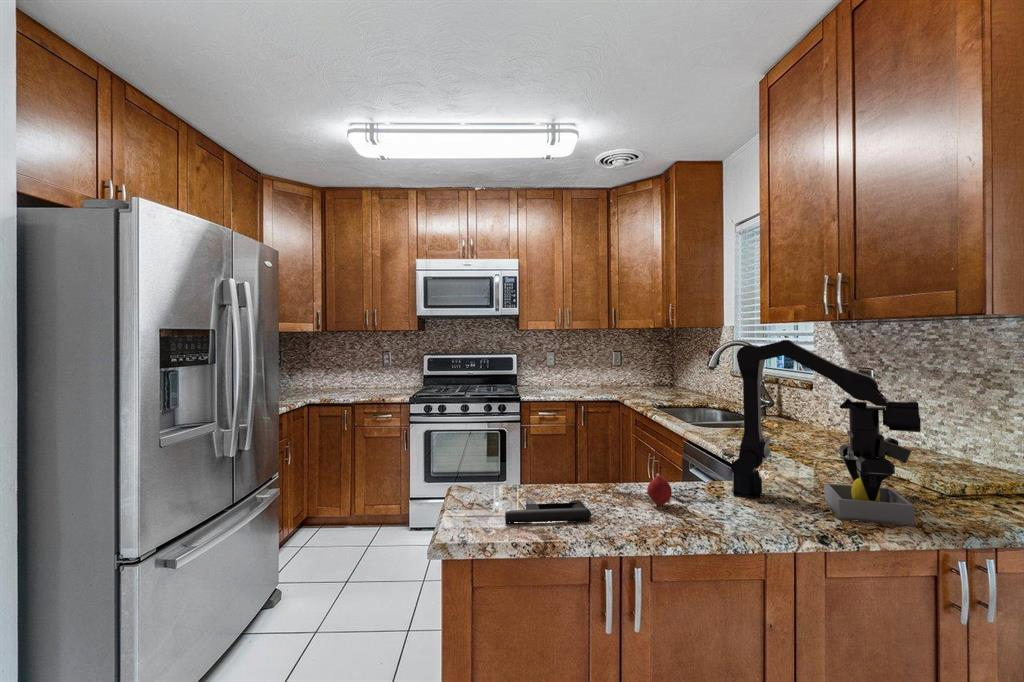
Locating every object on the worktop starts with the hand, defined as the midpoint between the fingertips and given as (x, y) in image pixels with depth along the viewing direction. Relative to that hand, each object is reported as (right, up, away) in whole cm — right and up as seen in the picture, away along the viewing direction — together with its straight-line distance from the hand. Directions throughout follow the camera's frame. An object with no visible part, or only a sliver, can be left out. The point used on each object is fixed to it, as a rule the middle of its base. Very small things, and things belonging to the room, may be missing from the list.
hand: (865, 494), depth 116 cm
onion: (-46, -5, +7) cm, 47 cm away
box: (0, -4, 0) cm, 4 cm away
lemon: (0, -4, 0) cm, 4 cm away
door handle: (-75, -6, +4) cm, 75 cm away
